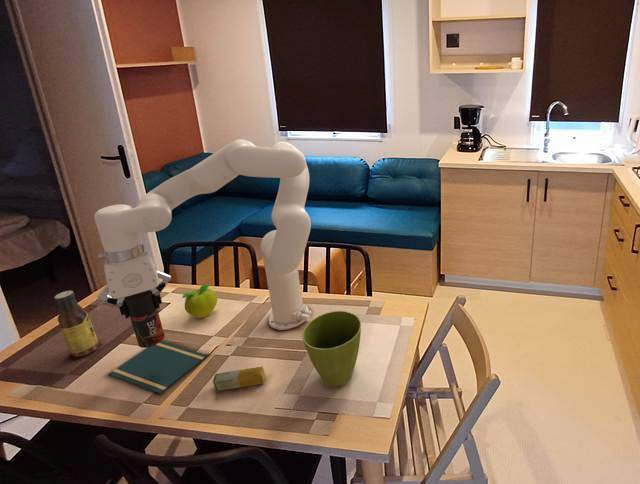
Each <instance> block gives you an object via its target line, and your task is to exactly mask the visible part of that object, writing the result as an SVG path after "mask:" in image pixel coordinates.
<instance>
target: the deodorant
mask: <svg viewBox="0 0 640 484" xmlns="http://www.w3.org/2000/svg"><path fill="white" fill-rule="evenodd" d="M124 300H125V303H126V306H127V310H128V313H129V319H130V322H131V326H132V329H133V332H134V335H135V338H136V341H137V344H138V347H139V348H141V349H142V348H143V349H146V348H148V347H152V346H154V345H156V344H158V343H160V342H161V341H164V339H165V336H166V334H165V331H164V328H163V324H162V321H161V318H160V314H159V309H156V306H155V302H154V299H153V292H152V291H151V290H148V291H145V292H141V293H138V294H134V295H131V296H127V297H124Z"/></svg>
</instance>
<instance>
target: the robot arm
mask: <svg viewBox="0 0 640 484" xmlns="http://www.w3.org/2000/svg"><path fill="white" fill-rule="evenodd" d="M306 161H307V159H306V156H305V155H304V153H303V152H301V151H300V150H299V149H298V148H296V147H295V146H294V145H293V144H291V143H289V142H286V141H278V142H275V143H274V144H272V145H271V146H270V147H269V146H268V147H267V146H258V145H255V144H254V143H253V142H251V141H249V140H247V139H244V138H239V139H234V140H232V141H231V142H229V143H227V144H225V145H224V146H223V147H221V148H220V149H217V150H216V151H215V152H214V153H212V154H211V155H209V156H207V157H206V158H205V159H203V160H202V161H200V162H198V163H196V164H195V165H194V166H192V167H190V168H189V169H185V170H184V171H182V172H180V173H178V174H177V175H174V176H172V177H170V178H168V179H166V180H165V181H164V182H162V183H160V184H159V185H157V186H155V187H154V188H153V189H151V190H150V191H149V192H146V193H145V194H144V195H143V196H141V198H139V200H138V202H137V204H136V207H133V206H131V205H129V204H124V203H123V204H111V205H108V206H104V207H102V208H100V209H98V210H97V211H96V212H95V213H94V215H93V216H94V217H93V219H94V222H95V225H96V228H97V231H98V234H99V237H100V240H101V243H102V247H103V252H100V253H98V254H97V258H98V259H99V260H100V259H101V260H102V259H103V260H104V259H105V262H104V265H103V268H104V269H103V270H104V275H105V281H106V286H105V287H104V288H103V289H102V290H101V292H100V293H98V295H97V300H98V301H101V302H107V303H108V304H110V305H114V306H116V307H118V308H119V311H120V315H121V316H124V317H125V319H126V320H127V319H129V318H130V316H129V313H128V310H127V306H126V303H125V300H124V298H125V297H127V296H131V295H134V294H138V293H141V292H145V291H148V290H151V291H152V292H153V299H154V302H155V306H156V309H157V310H159V309H160V308H161V307H160V304H162V303H163V300H162V296H161V293H162V291H163V290H164V289H165V288H166V286H167V285H168V284H169V282H170V281H171V280H172V275H170V274H167V273H165V272H162V271H160V270H157V267H156V264H155V262H154V259H153V257H152V255H151V254H150V252H149V250H147V249H145V247H144V243H143V240H142V236H141V234H142V233H143V234H145V233H154V232H160V231H162V230H165V229H166V228H167V227H168V226H169V225H170V224H171V222H172V218H173V217H172V216H173V214H172V211H173V210H174V209H175V208H177V207H179V206H181V204H182V203H184V202H186V201H188V200H189V199H192V198H193V197H196V196H199V195H206V194H213V193H216V192H217V191H218V190H220V189H221V188H223V187H224V186H225V185H227V184H228V183H230V182H231V181H233V180H234V179H236V178H237V177H238V176H245V177H251V178H252V177H253V178H268V179H271V178H273V179H275V178H276V179H279V185H278V190H277V194H276V198H275V201H274V205H273V208H272V211H271V214H270V215H271V217H270V218H271V222H272V224H273V225H274V227H275V228H276V229H273V230H271V231H269V232H267V233H266V234H264V236H263V237H262V239H261V241H260V245H259V246H260V255H261V259H262V262H263V267H264V271H265V277H266V283H267V289H268V295H269V300H270V305H271V314H270V315H269V317H268V324H269V326H270V327H271V328H272V329H274V330H279V331H280V330H281V331H284V330H290V329H294V328H296V327H298V326H300V325H302V324H303V323H304V322H310V321H311V320H312V319H311V318H312V316H311V315H312V314H313V310H309V307H308V306H307V305H306V303H304V302H303V296H302V295H303V294H302V289H301V281H300V276H299V275H300V273H299V266H300V264H301V263H302V261H303V257H304V255H305V251H306V247H307V244H308V240H309V236H310V234H311V228H312V221H311V217H310V214H309V213H308V212H307V211H306V209H305V206H306V201H307V197H308V192H309V187H310V172H309V168H308V164H307V162H306ZM160 279H161V281H160Z"/></svg>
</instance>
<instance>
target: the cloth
mask: <svg viewBox="0 0 640 484" xmlns="http://www.w3.org/2000/svg"><path fill="white" fill-rule="evenodd" d="M207 357H208V355H207V354H204V353H201V352H199V351H195V350H192V349H189V348H185V347H182V346H179V345H176V344H173V343H170V342H166V341H164V340H162V341H161V342H160V343H158V344H156V345H154V346H152V347H148V348H144V349H143V350H142V351H140V352H139V353H137V354H136V355H134V356H133V357H132V358H130V359H128V360H126V361H125V362H124V363H122V364H121V365H119V366H118V367H116V368H114V369H113V370H111V371H110V372H109V373H108V376H110V377H113V378H117V379H119V380H122V381H125V382H127V383H129V384H132V385H135V386H137V387H140V388H142V389H145V390H148V391H151V392H153V393H156V394H159V395H161V394H162V393H164V392H165V391H167V389H169V388H170V387H171V386H173V384H175V383H176V382H178V381H179V380H180V379H181V378H182V377H183V376H185V375H186V374H187V373H189V372H190V371H191V370H192V369H193V368H195V367H196V366H197V365H198V364H200V363H201V362H202V361H204V360H205V359H206V358H207Z"/></svg>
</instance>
